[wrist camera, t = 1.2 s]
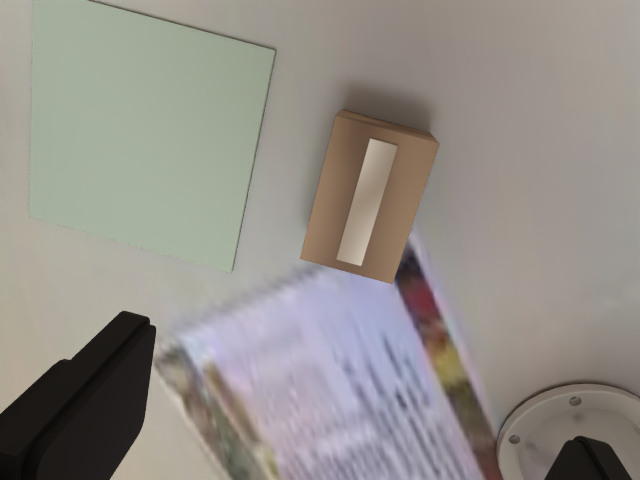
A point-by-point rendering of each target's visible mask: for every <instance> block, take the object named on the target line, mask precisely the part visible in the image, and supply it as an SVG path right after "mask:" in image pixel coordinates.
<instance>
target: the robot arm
mask: <svg viewBox="0 0 640 480" xmlns="http://www.w3.org/2000/svg"><path fill="white" fill-rule="evenodd" d="M155 336H156V327H155V326H153V325H150V320H149V318H148V317H146V316H142V315H138V314H135V313H131V312H127V311H122V312H120V313H119V314H118V315H117V316H116V317H115V318H114V319H113V320H112V321H111V322H110V323H109V324H108V325H107V326H106V327H104V328H103V329H102V330H101V331H100V332H99V333H98V334H97V335H96V336H95V337H94V338H93V339H92V340H91V341H90V342H89V343H88V344H87V345H86V346H85V347H84V348H82V349H81V350H80V351H79V352H78V353H77V354H76V355H75V356H74V357H73V358H72V359H71V360H67V359H63V360H60V361H58V362H57V363H56V364H54V365H53V366H52V367H51V368H50V369H49V370H48V371H47V372H45V373H44V374H43V375H42V376H41V377H40V378H39V379H38V380H37V381H36V382H35V383H34V384H32V385H31V386H30V387H29V388H28V389H27V390H26V391H25V392H24V393H23V394H22V395H20V396H19V397H18V398H17V399H16V400H15V401H14V402H13V403H12V404H11V405H10V406H9V407H7V408H6V409H5V410H4V411H3V412H2V413H1V414H0V480H110V478H111V477H112V475H113V474H114V472H115V470H116V469H117V467H118V466H119V464H120V463H121V461H122V460H123V458H124V457H125V455H126V453H127V452H128V450H129V449H130V447H131V446H132V444H133V443H134V441H135V440H136V438H137V436H138V435H139V433H140V431H141V428H142V426H143V422H144V418H145V411H146V403H147V396H148V389H149V381H150V374H151V366H152V359H153V351H154V344H155ZM496 456H497V461H498V466H499V469H500V472H501V474H502V477H503V480H640V398H638V397H637V396H635V395H633V394H631V393H629V392H626V391H624V390H622V389H618V388H615V387H611V386H607V385H598V384H573V385H568V386H562V387H557V388H554V389H551V390H549V391H546V392H543V393H541V394H539V395H537V396H535V397H533V398H531V399H529V400H528V401H526V402H525V403H524V404H522V405H521V406H520V407H519V408H517V409H516V410H515V411H514V412H513V413H512V415H511V416H510V417H509V418H508V419H507V420H506V422H505V424H504V426H503V427H502V429H501V431H500V434H499V437H498V440H497V448H496Z"/></svg>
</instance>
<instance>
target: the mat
mask: <svg viewBox="0 0 640 480" xmlns="http://www.w3.org/2000/svg"><path fill="white" fill-rule="evenodd" d="M275 55H276V50H272V49H268V48H265V47H261V46H257V45H253V44H250V43H246V42H242V41H238V40H235V39H231V38H227V37H223V36H220V35H216V34H212V33H208V32H205V31H201V30H197V29H193V28H190V27H186V26H182V25H178V24H175V23H171V22H167V21H163V20H160V19H156V18H152V17H148V16H145V15H141V14H137V13H133V12H130V11H126V10H122V9H118V8H115V7H111V6H107V5H103V4H100V3H96V2H92V1H88V0H33V39H32V86H31V133H30V180H29V217H30V218H34V219H37V220H41V221H45V222H48V223H52V224H55V225H59V226H63V227H66V228H70V229H73V230H77V231H81V232H84V233H88V234H92V235H95V236H99V237H102V238H106V239H110V240H113V241H117V242H121V243H124V244H128V245H131V246H135V247H139V248H142V249H146V250H149V251H153V252H157V253H160V254H164V255H168V256H171V257H175V258H178V259H182V260H186V261H189V262H193V263H196V264H200V265H204V266H207V267H211V268H215V269H218V270H222V271H225V272H229V273H232V271H233V267H234V262H235V256H236V251H237V246H238V241H239V236H240V231H241V226H242V221H243V216H244V211H245V206H246V201H247V196H248V191H249V186H250V181H251V176H252V171H253V166H254V161H255V156H256V150H257V145H258V140H259V135H260V130H261V125H262V120H263V115H264V110H265V105H266V100H267V95H268V90H269V85H270V80H271V75H272V70H273V65H274V60H275Z"/></svg>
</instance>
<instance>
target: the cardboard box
mask: <svg viewBox="0 0 640 480" xmlns="http://www.w3.org/2000/svg"><path fill="white" fill-rule="evenodd" d="M439 144H440V143H439V142H438V141H437V140H436V139H435V138H434V137H433V136H432V135H431V133H428V132H424V131H420V130H417V129H413V128H409V127H405V126H402V125H398V124H394V123H390V122H386V121H383V120H379V119H375V118H371V117H368V116H364V115H360V114H356V113H353V112H349V111H345V110H341V111H340V112H339V113H338V114H337V115H336V117H335V121H334V125H333V129H332V133H331V137H330V141H329V145H328V149H327V153H326V157H325V161H324V165H323V169H322V173H321V177H320V181H319V185H318V189H317V193H316V196H315V200H314V204H313V208H312V212H311V216H310V220H309V224H308V228H307V232H306V236H305V240H304V244H303V248H302V252H301V256H300V259H302V260H306V261H310V262H313V263H317V264H321V265H324V266H328V267H332V268H335V269H339V270H342V271H346V272H350V273H353V274H357V275H361V276H364V277H368V278H372V279H375V280H379V281H383V282H386V283H390V284H393V281H394V278H395V275H396V272H397V269H398V266H399V263H400V260H401V257H402V254H403V251H404V248H405V245H406V242H407V239H408V236H409V233H410V230H411V227H412V224H413V221H414V218H415V215H416V212H417V209H418V206H419V203H420V200H421V197H422V194H423V191H424V188H425V185H426V182H427V179H428V176H429V173H430V171H431V168H432V165H433V162H434V159H435V156H436V153H437V150H438V147H439Z"/></svg>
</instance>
